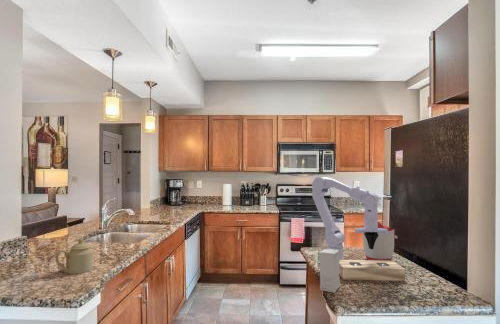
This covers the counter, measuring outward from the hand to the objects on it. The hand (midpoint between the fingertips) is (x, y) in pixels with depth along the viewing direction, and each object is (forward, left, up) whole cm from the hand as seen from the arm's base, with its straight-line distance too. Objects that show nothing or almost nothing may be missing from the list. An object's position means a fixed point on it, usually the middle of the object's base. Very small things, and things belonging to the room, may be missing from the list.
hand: (371, 248), depth 147 cm
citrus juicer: (-18, +11, -11) cm, 24 cm away
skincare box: (+22, -24, -11) cm, 34 cm away
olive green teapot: (+6, -135, -11) cm, 136 cm away
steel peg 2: (+6, +3, -10) cm, 12 cm away
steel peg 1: (+6, -9, -10) cm, 15 cm away
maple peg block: (+6, -3, -10) cm, 12 cm away
